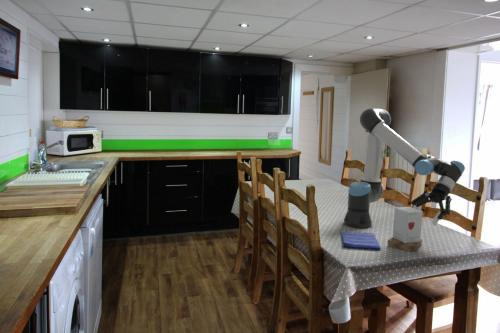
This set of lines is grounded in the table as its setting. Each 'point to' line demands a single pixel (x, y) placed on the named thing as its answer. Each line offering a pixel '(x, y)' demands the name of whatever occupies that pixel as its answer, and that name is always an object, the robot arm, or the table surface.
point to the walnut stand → (404, 244)
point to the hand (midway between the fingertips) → (420, 220)
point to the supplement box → (407, 224)
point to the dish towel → (359, 240)
